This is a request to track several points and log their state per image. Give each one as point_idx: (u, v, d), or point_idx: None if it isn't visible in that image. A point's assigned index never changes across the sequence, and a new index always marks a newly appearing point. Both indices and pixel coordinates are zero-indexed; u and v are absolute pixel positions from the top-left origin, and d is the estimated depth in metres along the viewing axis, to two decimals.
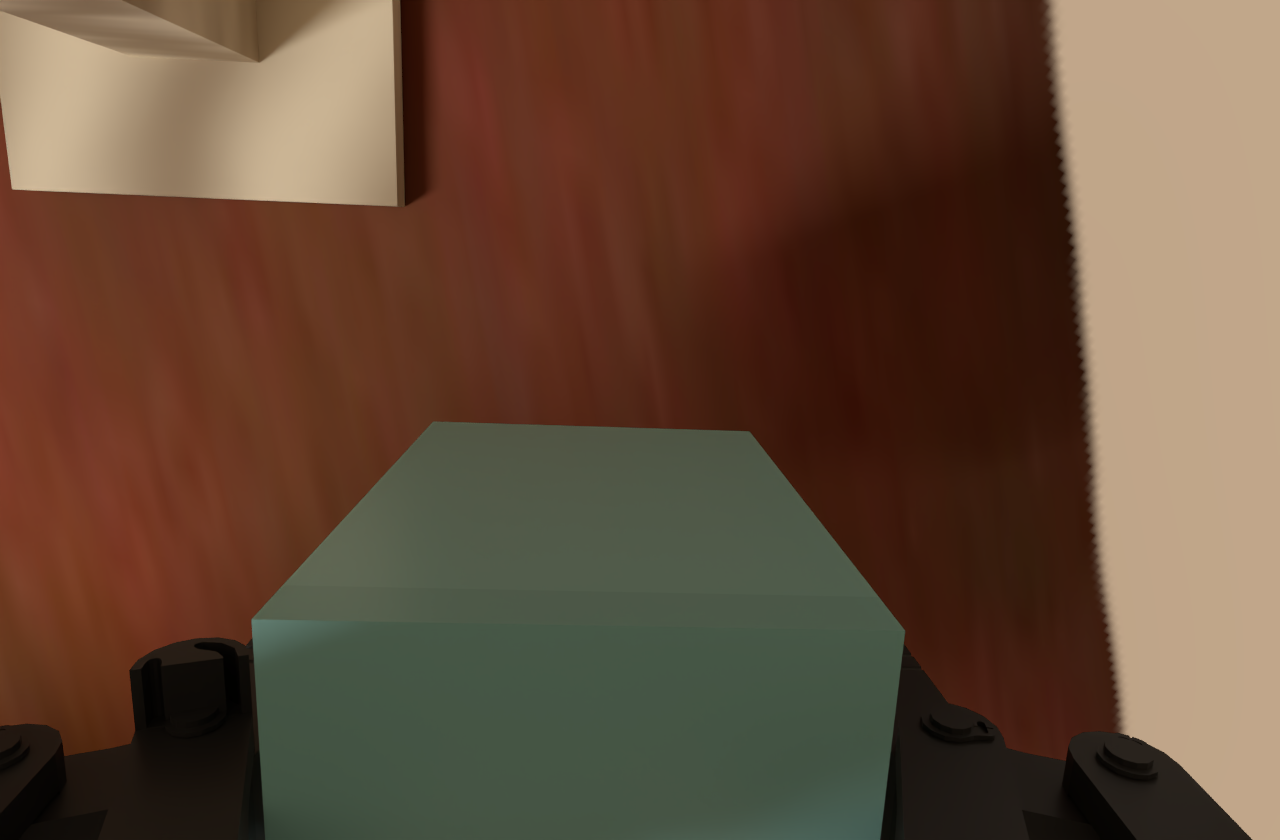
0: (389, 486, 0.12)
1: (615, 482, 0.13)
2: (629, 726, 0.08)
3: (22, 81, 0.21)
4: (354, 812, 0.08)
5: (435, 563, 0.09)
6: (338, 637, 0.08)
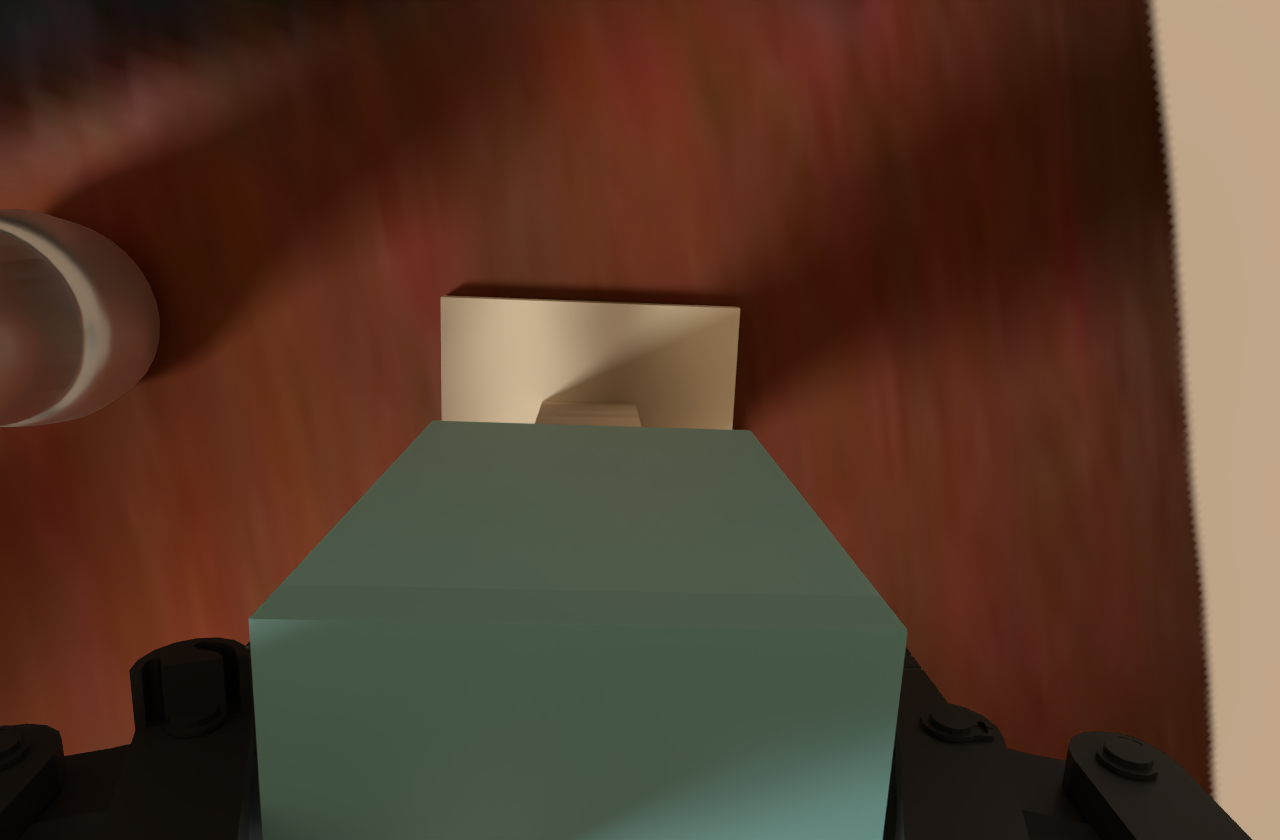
0: (388, 485, 0.12)
1: (615, 481, 0.13)
2: (629, 726, 0.08)
3: None
4: (352, 813, 0.08)
5: (434, 562, 0.09)
6: (337, 636, 0.08)
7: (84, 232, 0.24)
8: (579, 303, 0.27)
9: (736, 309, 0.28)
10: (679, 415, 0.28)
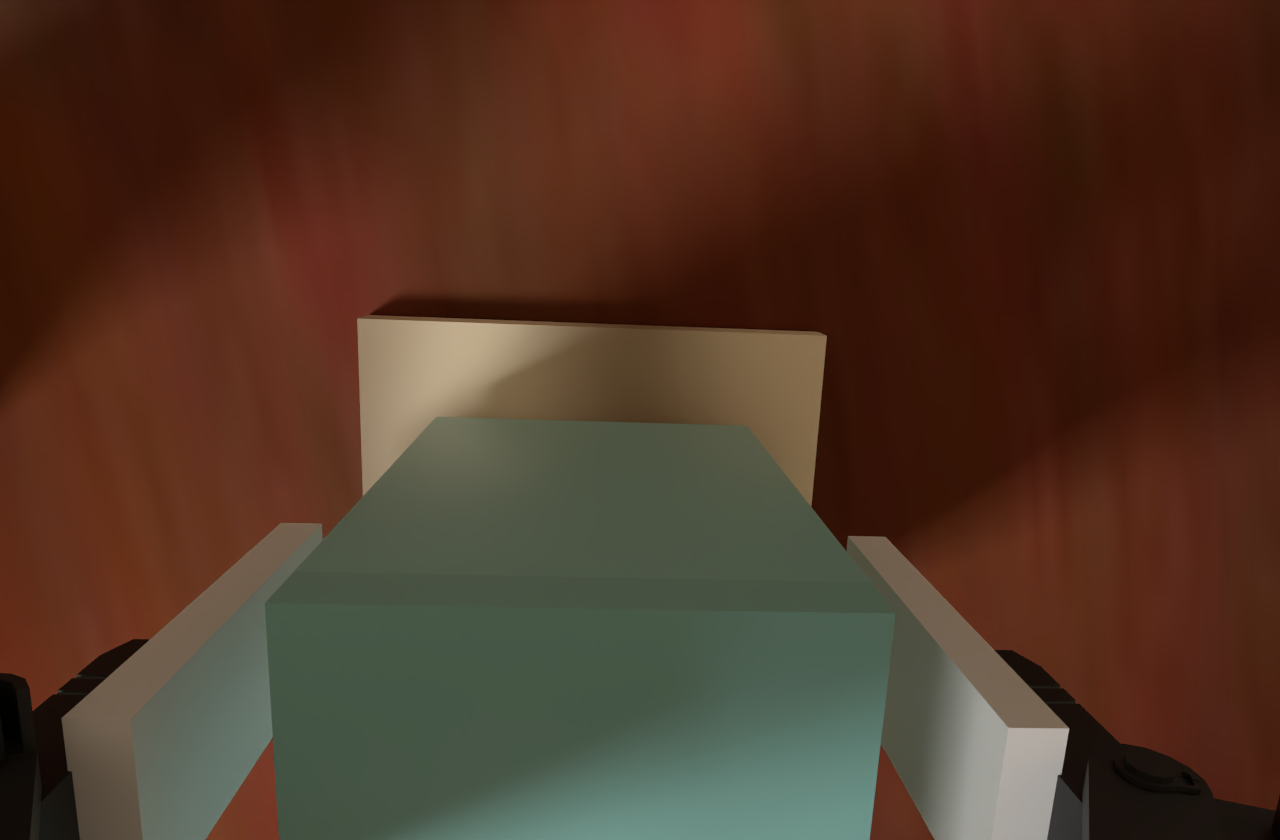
0: (394, 478, 0.12)
1: (615, 474, 0.13)
2: (629, 706, 0.09)
3: None
4: (364, 790, 0.09)
5: (441, 550, 0.10)
6: (349, 620, 0.08)
7: None
8: (575, 328, 0.17)
9: (820, 337, 0.18)
10: None
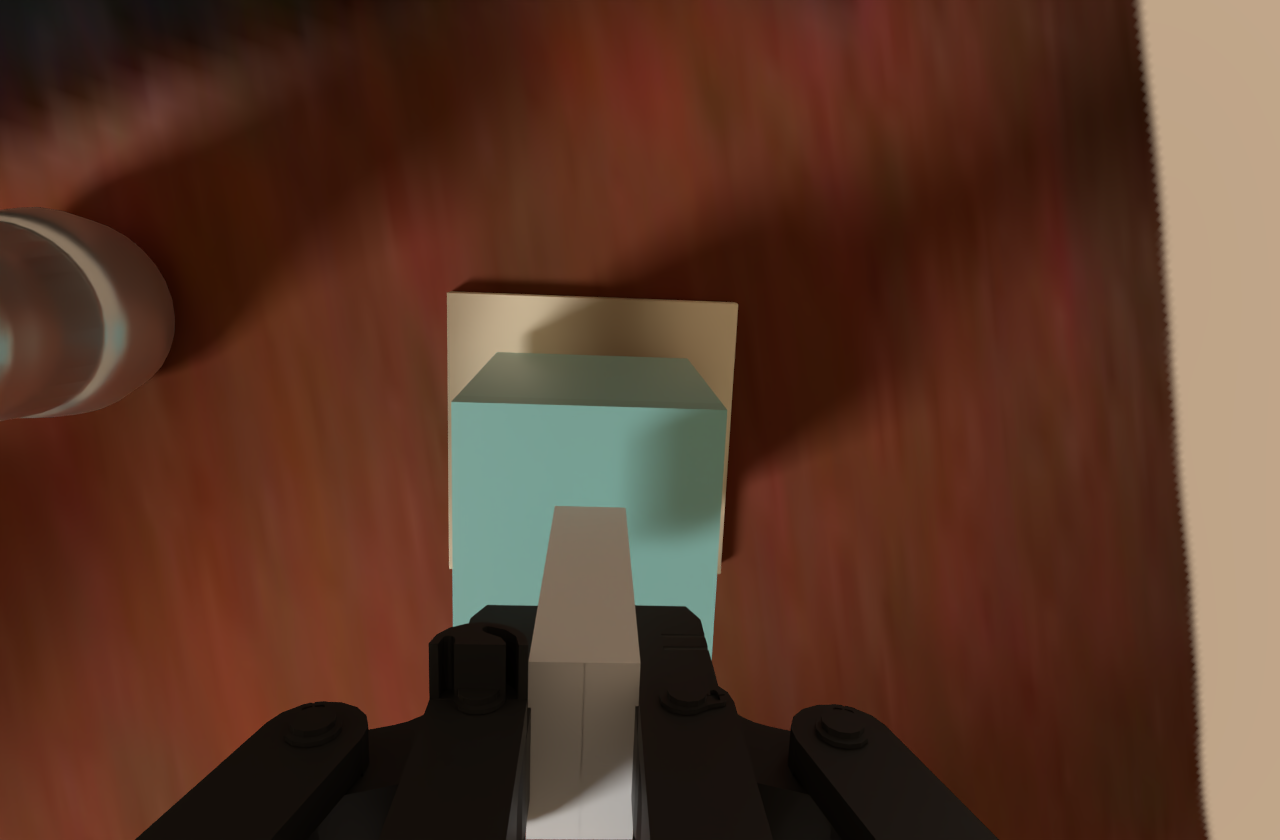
0: (486, 372, 0.23)
1: (605, 373, 0.24)
2: (609, 452, 0.19)
3: None
4: (490, 490, 0.19)
5: (521, 392, 0.20)
6: (486, 410, 0.19)
7: (102, 229, 0.25)
8: (581, 299, 0.28)
9: (734, 304, 0.29)
10: None
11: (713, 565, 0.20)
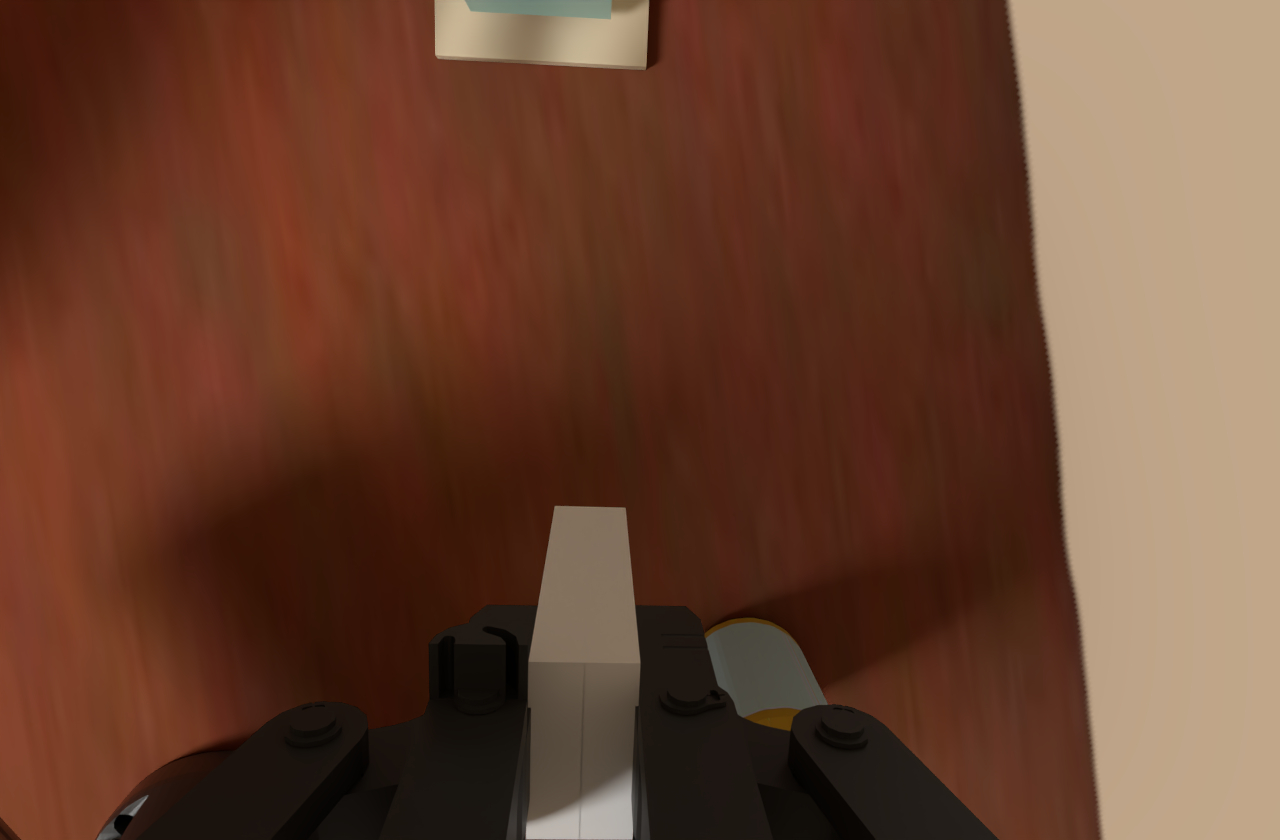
0: None
1: None
2: None
3: None
4: None
5: None
6: None
7: None
8: None
9: None
10: None
11: None
